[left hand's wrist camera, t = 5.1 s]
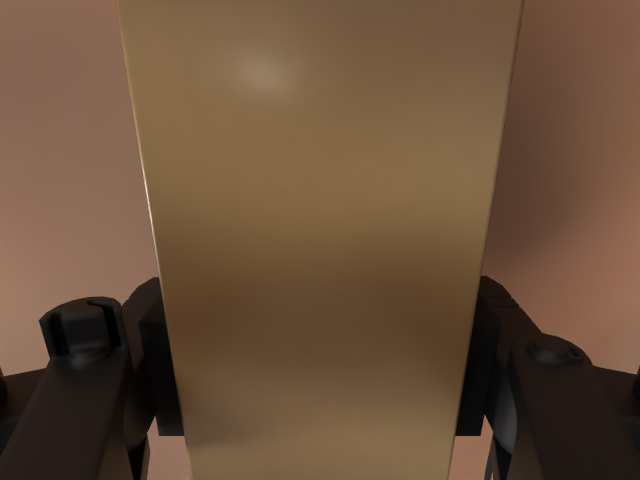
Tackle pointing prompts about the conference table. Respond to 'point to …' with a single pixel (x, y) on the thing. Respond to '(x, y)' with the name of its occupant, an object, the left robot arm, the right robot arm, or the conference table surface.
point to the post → (319, 221)
